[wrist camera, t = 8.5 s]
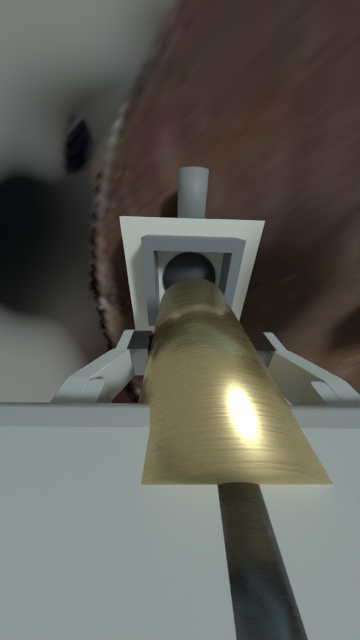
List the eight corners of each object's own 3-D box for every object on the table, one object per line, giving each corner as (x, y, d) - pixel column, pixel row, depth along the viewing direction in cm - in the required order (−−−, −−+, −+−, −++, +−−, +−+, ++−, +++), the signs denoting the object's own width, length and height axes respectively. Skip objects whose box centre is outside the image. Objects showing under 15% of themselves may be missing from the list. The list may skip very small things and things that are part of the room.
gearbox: (221, 333, 30) (235, 372, 23) (146, 331, 30) (134, 370, 22) (252, 179, 19) (302, 152, 11) (130, 175, 19) (95, 144, 11)
